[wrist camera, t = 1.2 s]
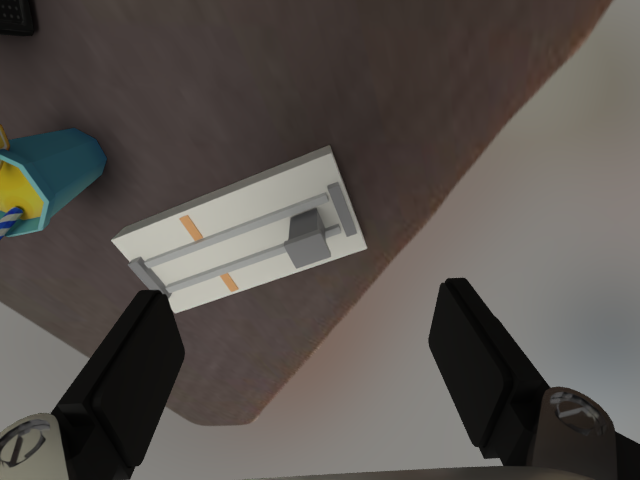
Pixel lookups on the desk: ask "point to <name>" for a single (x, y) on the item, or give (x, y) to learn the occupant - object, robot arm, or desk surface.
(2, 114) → the desk surface
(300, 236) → the fader tab
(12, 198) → the cup
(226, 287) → the slider track base
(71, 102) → the desk surface
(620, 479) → the robot arm
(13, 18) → the portable radio
